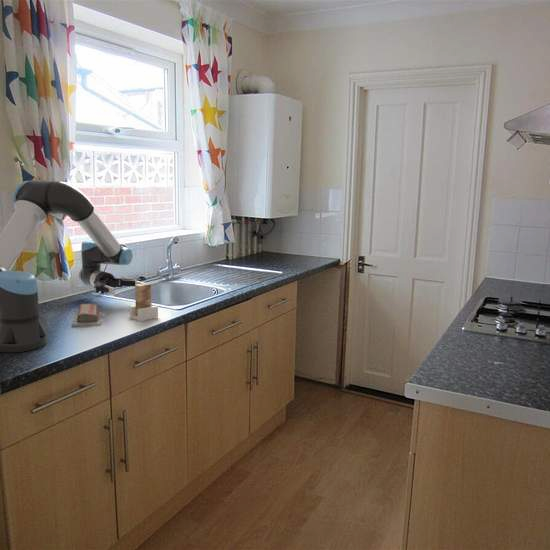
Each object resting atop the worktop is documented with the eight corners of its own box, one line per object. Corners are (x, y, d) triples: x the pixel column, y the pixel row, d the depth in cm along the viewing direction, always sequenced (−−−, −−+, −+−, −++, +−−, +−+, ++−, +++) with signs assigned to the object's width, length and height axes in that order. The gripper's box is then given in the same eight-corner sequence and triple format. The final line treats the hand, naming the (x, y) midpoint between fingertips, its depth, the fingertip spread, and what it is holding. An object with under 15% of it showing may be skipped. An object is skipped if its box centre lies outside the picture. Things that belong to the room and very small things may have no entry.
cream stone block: (139, 321, 195) (139, 309, 194) (129, 317, 200) (129, 306, 199) (158, 317, 201) (157, 306, 200) (147, 313, 206) (147, 302, 205)
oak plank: (140, 317, 198) (139, 286, 195) (136, 315, 200) (135, 284, 197) (151, 314, 201) (150, 284, 199) (147, 313, 203) (146, 283, 201)
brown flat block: (74, 303, 203) (101, 301, 206) (75, 315, 204) (102, 313, 207) (71, 315, 186) (100, 313, 189) (71, 328, 187) (101, 326, 190)
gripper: (129, 285, 229) (157, 293, 215) (74, 293, 212) (100, 303, 197) (129, 268, 228) (156, 275, 213) (73, 275, 210) (99, 284, 196)
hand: (129, 289), depth 205 cm, fingers open, 13 cm apart
